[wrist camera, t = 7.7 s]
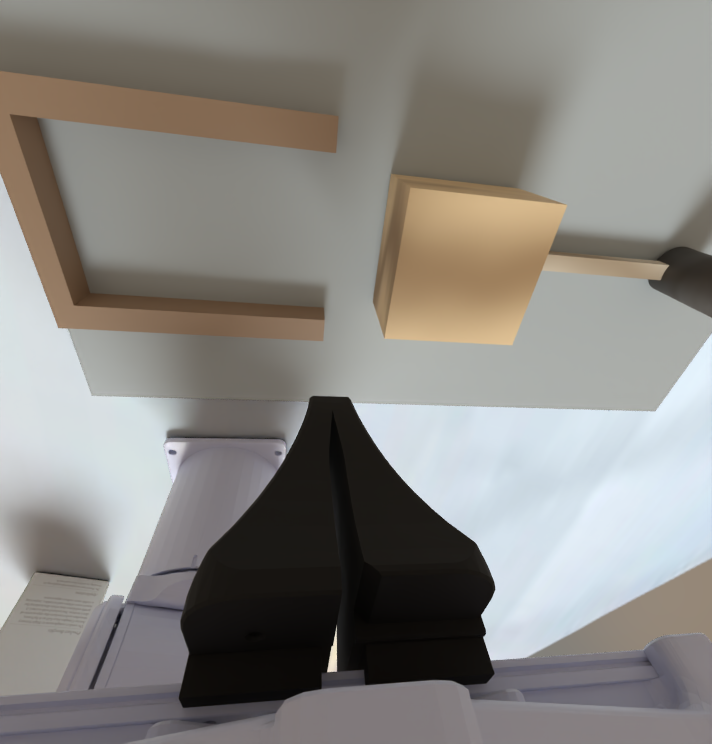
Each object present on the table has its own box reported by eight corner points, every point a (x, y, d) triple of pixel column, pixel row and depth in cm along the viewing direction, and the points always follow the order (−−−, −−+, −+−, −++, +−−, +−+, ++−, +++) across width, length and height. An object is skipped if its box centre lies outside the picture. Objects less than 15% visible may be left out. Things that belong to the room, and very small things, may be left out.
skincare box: (33, 592, 34) (-84, 789, 24) (35, 567, 32) (-92, 772, 22) (107, 601, 36) (28, 786, 26) (114, 578, 34) (31, 770, 24)
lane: (644, 402, 27) (671, 425, 25) (100, 385, 22) (78, 412, 20) (890, 46, 16) (974, 35, 14) (-81, -149, 11) (-169, -209, 9)
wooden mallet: (659, 320, 22) (720, 356, 19) (372, 301, 20) (384, 338, 16) (726, 212, 19) (815, 232, 15) (390, 173, 16) (410, 187, 13)
